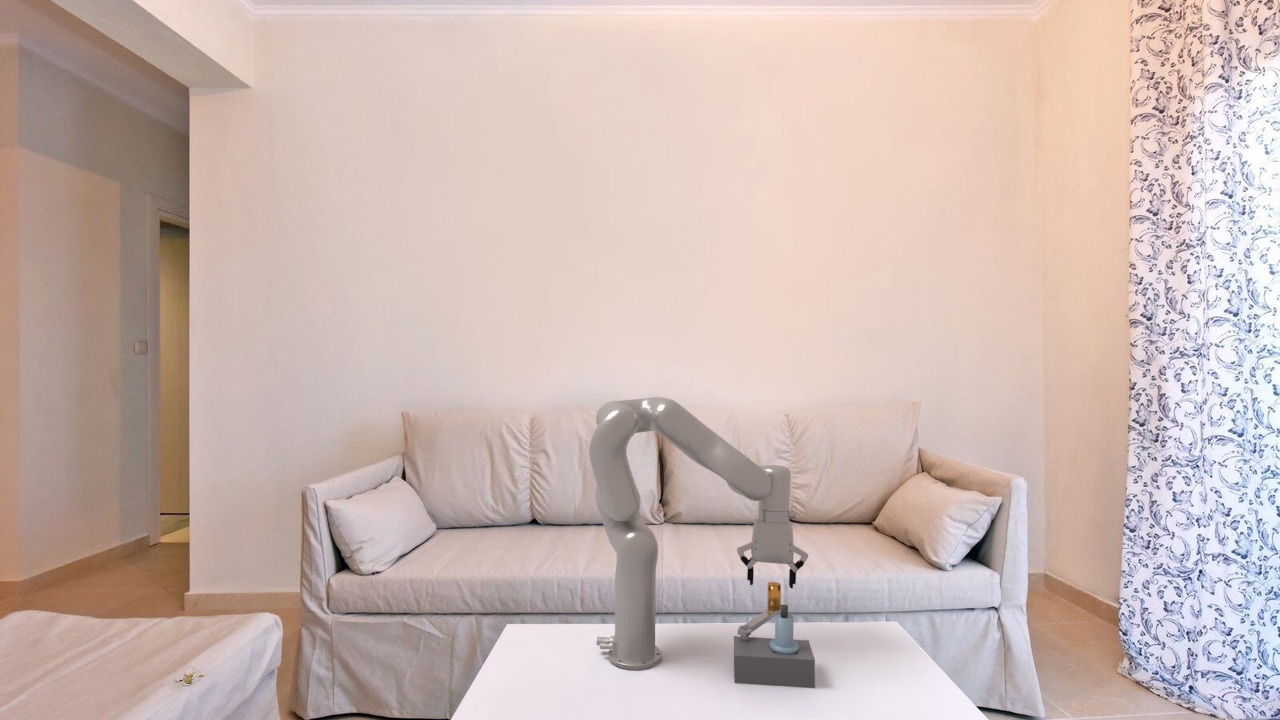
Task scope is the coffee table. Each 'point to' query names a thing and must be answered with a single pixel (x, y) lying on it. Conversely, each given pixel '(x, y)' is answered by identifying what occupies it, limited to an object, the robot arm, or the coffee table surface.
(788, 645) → the plug
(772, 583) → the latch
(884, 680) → the coffee table surface
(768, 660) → the socket block
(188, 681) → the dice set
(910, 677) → the coffee table surface
